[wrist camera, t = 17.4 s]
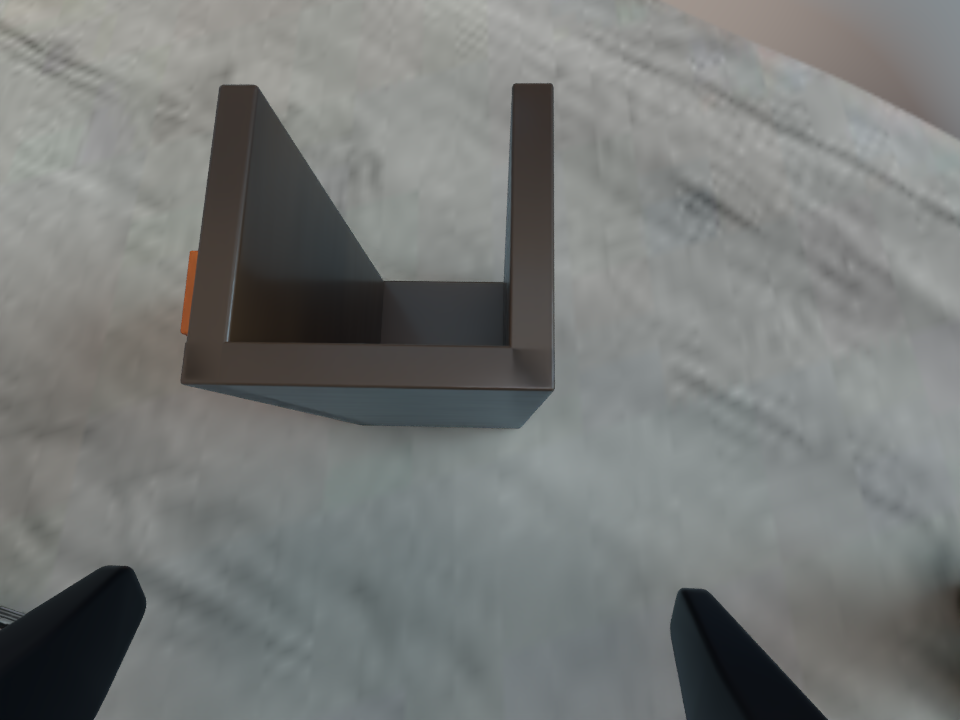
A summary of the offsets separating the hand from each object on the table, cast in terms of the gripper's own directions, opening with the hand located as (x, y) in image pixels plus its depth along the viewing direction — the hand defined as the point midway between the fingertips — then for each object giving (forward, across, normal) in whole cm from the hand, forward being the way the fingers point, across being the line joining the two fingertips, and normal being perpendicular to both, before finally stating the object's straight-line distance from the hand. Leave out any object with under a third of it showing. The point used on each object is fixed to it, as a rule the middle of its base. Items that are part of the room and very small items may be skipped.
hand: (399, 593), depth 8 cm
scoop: (+14, +1, +2) cm, 14 cm away
